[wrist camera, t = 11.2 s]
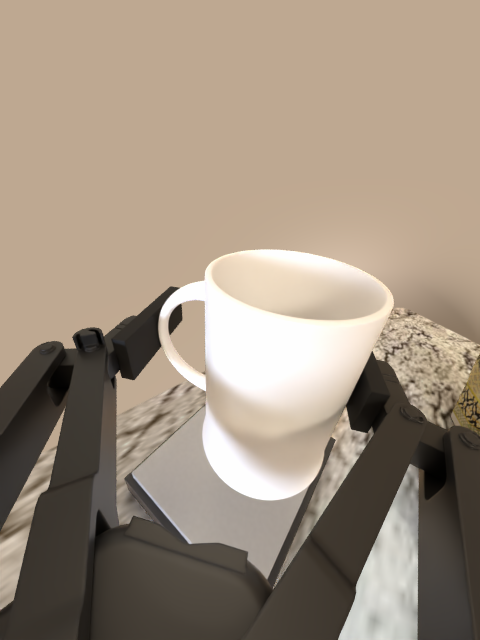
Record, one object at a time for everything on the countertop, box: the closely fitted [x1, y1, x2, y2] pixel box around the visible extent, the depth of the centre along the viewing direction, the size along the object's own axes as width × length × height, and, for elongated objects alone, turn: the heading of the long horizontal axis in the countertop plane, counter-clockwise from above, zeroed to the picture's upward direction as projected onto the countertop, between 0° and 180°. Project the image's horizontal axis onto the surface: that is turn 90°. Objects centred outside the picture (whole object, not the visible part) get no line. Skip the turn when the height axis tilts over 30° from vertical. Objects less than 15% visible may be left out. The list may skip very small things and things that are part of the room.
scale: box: [124, 404, 336, 588], centre depth 22 cm, size 13×15×3 cm
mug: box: [158, 250, 394, 500], centre depth 14 cm, size 12×8×12 cm
